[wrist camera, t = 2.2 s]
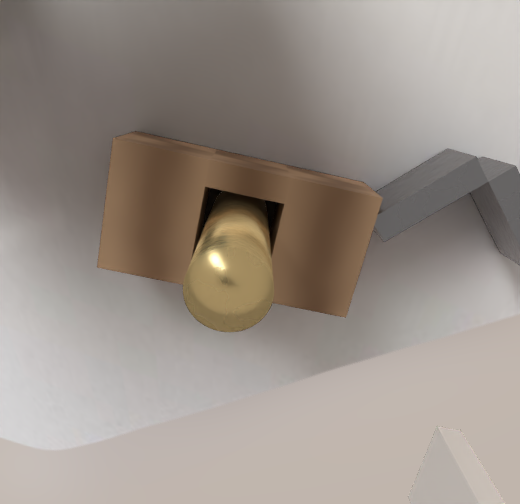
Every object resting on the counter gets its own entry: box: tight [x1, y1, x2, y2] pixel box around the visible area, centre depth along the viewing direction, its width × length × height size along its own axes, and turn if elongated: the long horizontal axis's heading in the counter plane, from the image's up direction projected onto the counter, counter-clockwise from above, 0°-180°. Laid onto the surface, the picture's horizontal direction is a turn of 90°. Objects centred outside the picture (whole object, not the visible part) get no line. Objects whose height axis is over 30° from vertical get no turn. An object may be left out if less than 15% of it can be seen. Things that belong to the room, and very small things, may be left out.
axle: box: [183, 191, 274, 332], centre depth 30 cm, size 4×4×16 cm
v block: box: [373, 149, 520, 265], centre depth 35 cm, size 14×7×5 cm, turn 77°
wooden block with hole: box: [97, 131, 383, 318], centre depth 35 cm, size 18×9×6 cm, turn 77°
